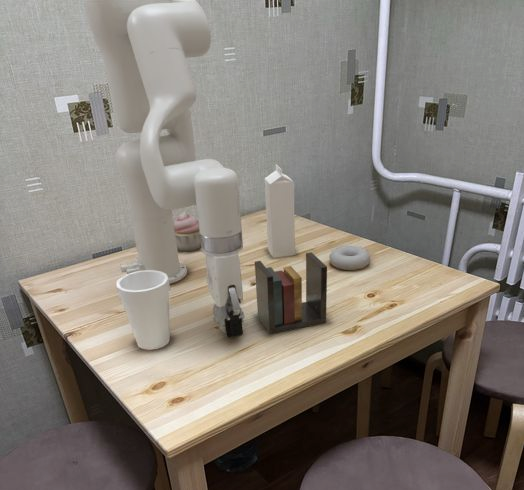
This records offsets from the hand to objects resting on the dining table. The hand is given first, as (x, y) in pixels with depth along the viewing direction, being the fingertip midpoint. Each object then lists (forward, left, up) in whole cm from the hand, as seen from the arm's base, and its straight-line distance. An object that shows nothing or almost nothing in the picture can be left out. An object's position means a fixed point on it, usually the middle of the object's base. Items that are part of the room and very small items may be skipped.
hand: (229, 325), depth 104 cm
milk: (+23, +35, -1) cm, 42 cm away
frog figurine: (0, 0, -1) cm, 1 cm away
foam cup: (-15, +2, -1) cm, 15 cm away
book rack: (+13, 0, -1) cm, 13 cm away
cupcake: (+1, +49, -1) cm, 49 cm away
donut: (+36, +21, -1) cm, 42 cm away
